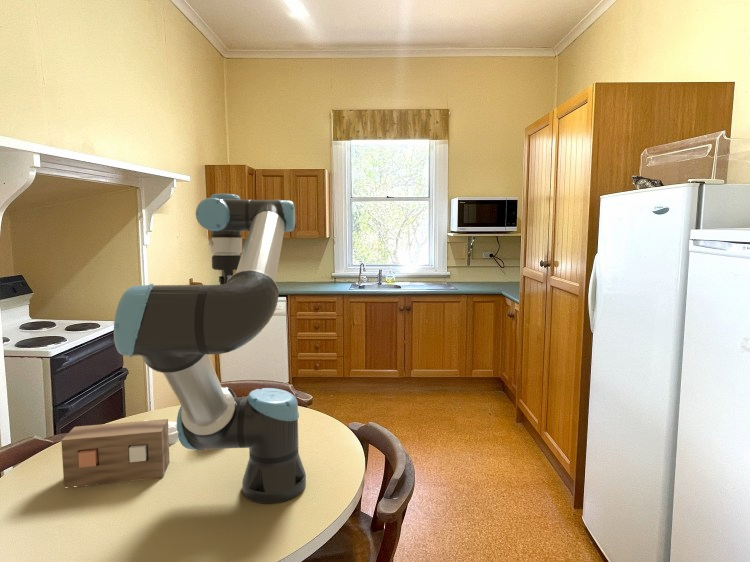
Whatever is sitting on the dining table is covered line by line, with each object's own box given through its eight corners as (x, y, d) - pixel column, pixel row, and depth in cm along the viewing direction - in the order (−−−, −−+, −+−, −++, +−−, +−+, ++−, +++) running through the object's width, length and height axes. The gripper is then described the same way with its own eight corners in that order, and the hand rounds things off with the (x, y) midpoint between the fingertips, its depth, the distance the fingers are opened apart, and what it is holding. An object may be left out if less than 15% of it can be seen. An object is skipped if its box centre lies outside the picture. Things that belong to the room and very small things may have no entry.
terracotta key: (95, 465, 109) (95, 451, 109) (79, 467, 108) (78, 453, 108) (102, 456, 114) (102, 442, 114) (86, 457, 113) (86, 444, 113)
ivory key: (145, 460, 112) (145, 446, 112) (129, 462, 111) (129, 448, 111) (150, 451, 117) (149, 438, 116) (135, 453, 116) (134, 439, 115)
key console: (163, 477, 114) (161, 431, 113) (64, 488, 109) (61, 440, 108) (169, 462, 122) (167, 418, 121) (77, 471, 116) (74, 426, 115)
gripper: (209, 253, 123) (212, 339, 125) (213, 255, 111) (216, 349, 113) (238, 253, 126) (240, 336, 128) (245, 255, 114) (247, 347, 116)
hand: (228, 342), depth 120 cm, fingers closed
